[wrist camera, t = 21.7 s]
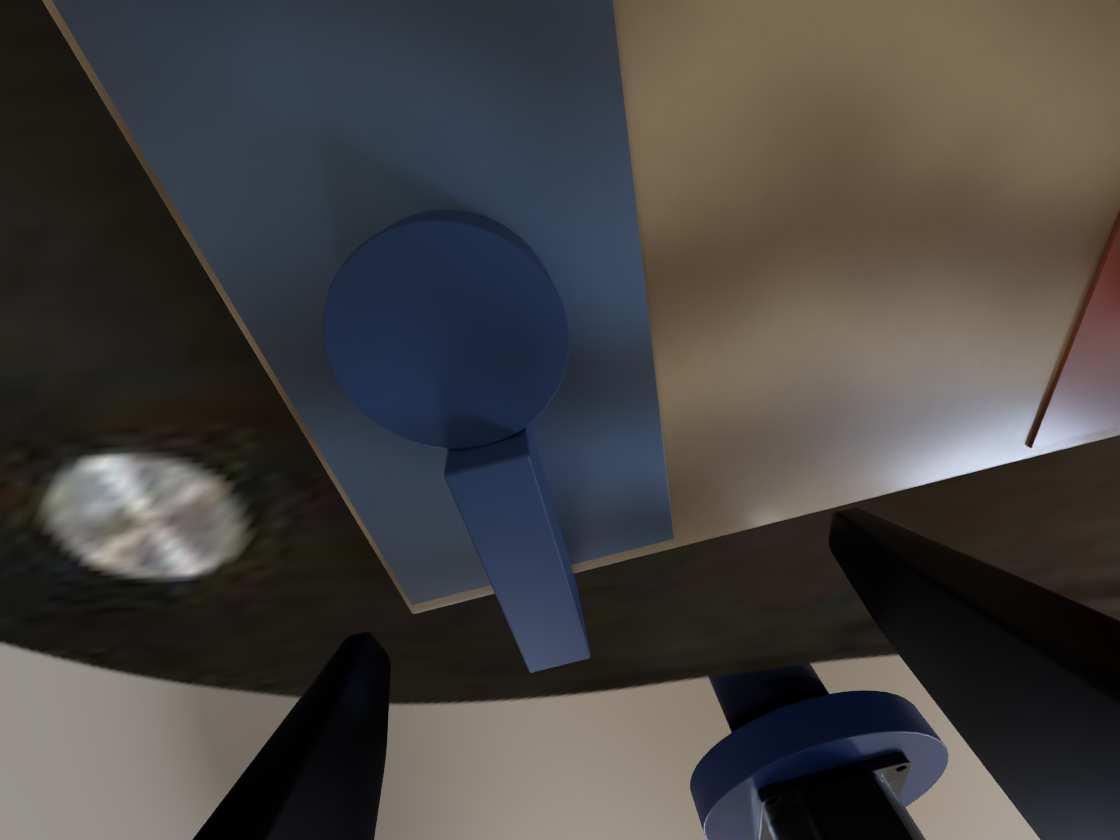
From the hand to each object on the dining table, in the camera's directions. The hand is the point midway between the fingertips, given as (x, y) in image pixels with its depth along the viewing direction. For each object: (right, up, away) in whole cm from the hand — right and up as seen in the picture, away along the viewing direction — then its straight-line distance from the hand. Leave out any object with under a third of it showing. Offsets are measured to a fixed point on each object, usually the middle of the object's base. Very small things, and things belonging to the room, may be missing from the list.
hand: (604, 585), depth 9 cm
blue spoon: (-2, +3, +2) cm, 4 cm away
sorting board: (+6, +7, +2) cm, 9 cm away
